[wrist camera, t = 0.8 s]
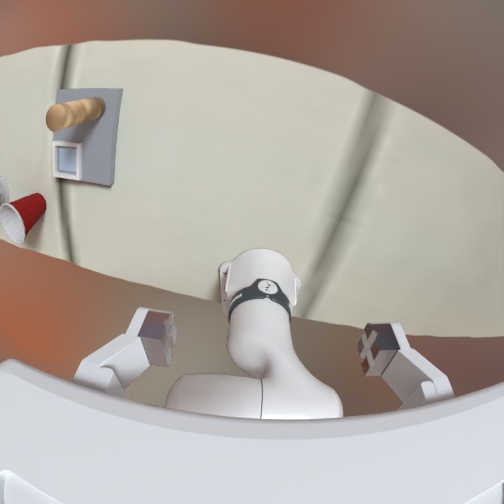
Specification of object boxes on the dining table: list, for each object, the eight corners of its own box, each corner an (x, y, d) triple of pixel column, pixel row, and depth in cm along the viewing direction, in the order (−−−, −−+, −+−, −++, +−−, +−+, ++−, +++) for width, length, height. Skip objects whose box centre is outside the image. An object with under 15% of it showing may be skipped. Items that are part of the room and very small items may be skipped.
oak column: (104, 119, 44) (64, 132, 33) (86, 118, 43) (45, 131, 32) (107, 97, 41) (66, 104, 30) (88, 97, 41) (46, 105, 30)
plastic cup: (21, 190, 53) (-8, 210, 43) (43, 178, 52) (12, 198, 42) (35, 225, 59) (9, 248, 49) (58, 217, 58) (30, 241, 47)
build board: (114, 182, 53) (107, 187, 50) (59, 173, 51) (51, 178, 49) (122, 88, 42) (115, 89, 40) (62, 89, 41) (54, 90, 38)
